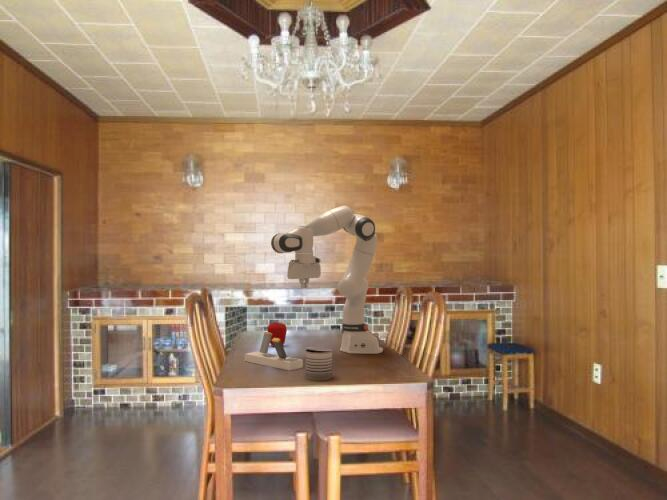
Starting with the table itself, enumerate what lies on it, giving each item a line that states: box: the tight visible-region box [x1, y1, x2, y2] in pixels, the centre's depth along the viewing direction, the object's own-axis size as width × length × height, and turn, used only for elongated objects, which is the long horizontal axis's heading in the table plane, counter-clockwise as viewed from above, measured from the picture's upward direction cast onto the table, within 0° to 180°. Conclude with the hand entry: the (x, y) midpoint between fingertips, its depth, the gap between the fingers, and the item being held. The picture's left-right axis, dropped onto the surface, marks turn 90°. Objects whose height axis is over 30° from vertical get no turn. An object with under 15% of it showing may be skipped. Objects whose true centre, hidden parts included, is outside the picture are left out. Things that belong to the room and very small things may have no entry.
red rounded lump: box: [266, 322, 288, 347], centre depth 288 cm, size 10×10×14 cm
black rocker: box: [272, 338, 288, 359], centre depth 235 cm, size 2×4×10 cm, turn 50°
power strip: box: [244, 350, 304, 372], centre depth 241 cm, size 8×30×4 cm, turn 50°
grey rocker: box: [258, 331, 272, 354], centre depth 247 cm, size 2×4×10 cm, turn 50°
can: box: [305, 346, 333, 381], centre depth 218 cm, size 11×11×12 cm
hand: (304, 288), depth 255 cm, fingers closed
